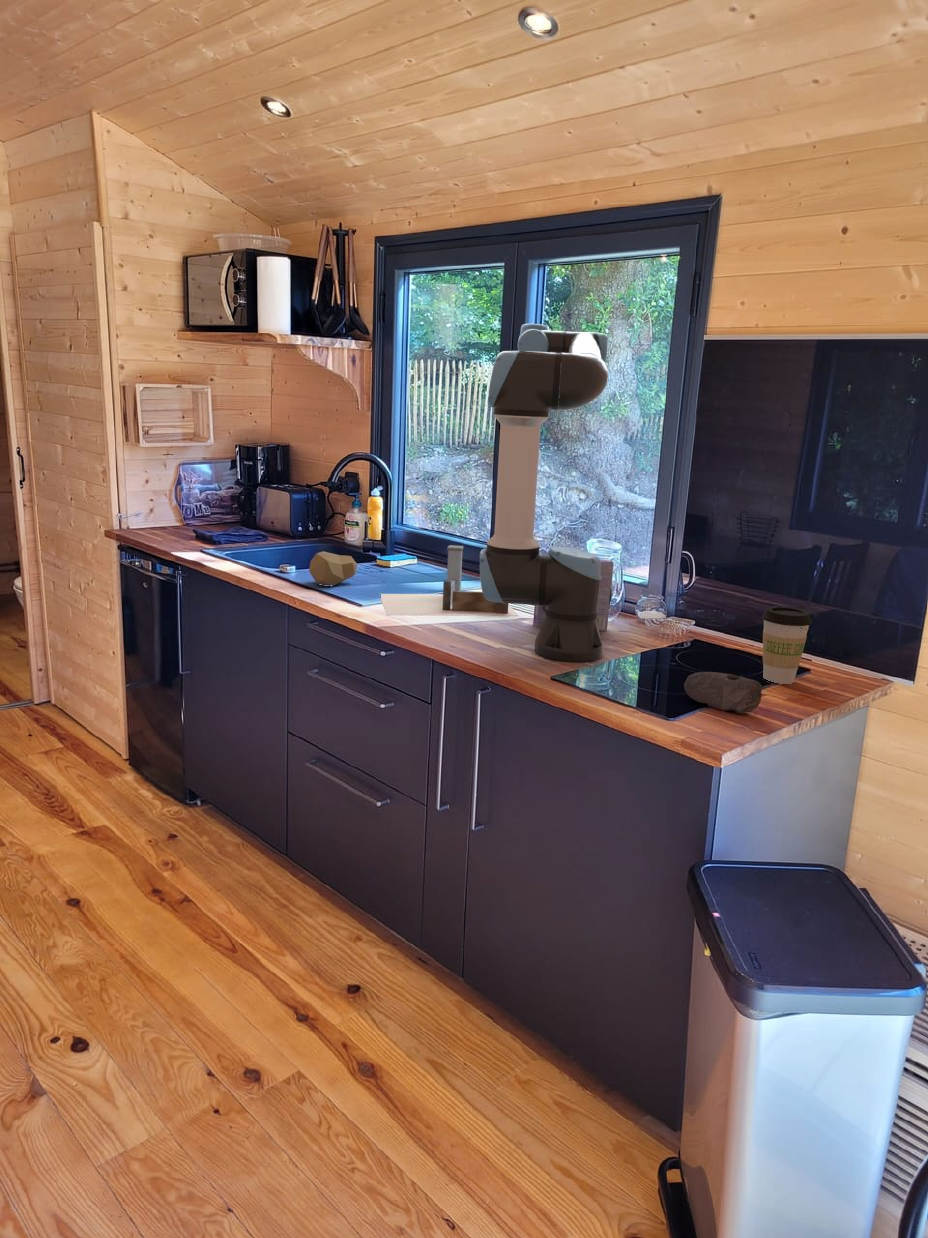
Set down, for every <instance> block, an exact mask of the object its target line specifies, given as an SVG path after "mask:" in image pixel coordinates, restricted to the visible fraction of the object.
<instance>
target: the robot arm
mask: <svg viewBox="0 0 928 1238" xmlns="http://www.w3.org/2000/svg"><path fill="white" fill-rule="evenodd" d="M608 339H609V337H608V335H607V334H606V333H605V332H604V333H603V332H598V331H597V332H595V331H592V332H589V331H566V330H565V331H564V330H563V331H562V330H550V327H549V326H548V325H547V324H541V323H523V324H522V325H521V327H520V333H519V337H518V340H517V350H503V351H501V352H499V353H497V355H496V357H495V359H494V364H493V367H492V370H491V377H490V383H489V386H488V387H489V388H488V396H487V406H488V407H490V408H494V409H493V417H494V418H495V419H496V420H497V421H498V422H499V425H500V427H499V428H500V429H499V442H498V443H499V448H498V460H497V461H498V462H497V463H498V465H497V480H496V481H497V484H496V498H495V500H496V502H495V514H494V515H495V519H494V521H495V522H494V532H493V533H494V534H493V535H492V537H490V538H489V539H488V540H487V542H486V548H483V549H481V550H480V552H479V579H480V585H481V587H480V588H481V592H482V593H483V596H484V598H485V599H486V600H488V601H491V602H499V603H503V604H506V603H508V604H513V605H514V604H515V605H527V606H530V605H531V606H535V605H543V606H545V618H544V620H543V623H542V625H541V628H540V629H539V631H538V632H537V635H536V638H535V642H534V652H535V653H536V654H538V655H539V656H542V657H544V658H548V659H551V660H557V661H562V662H563V661H564V662H578V663H579V662H590V661H591V662H592V661H595V660H598V659H600V658H601V657H603V656H602V655H603V648H604V647H603V641H602V637H601V633H600V632H601V631H599V628H598V624H597V613H598V600H599V586H600V580H601V561H600V560H601V559H600V557H598V556H597V555H595V554H593V553H591V552H588V551H585V550H583V549H577V548H573V547H567V546H551V547H550V548H549V550H548V553H547V552H546V553H545V552H540V547H541V546H540V545H541V544H540V543H539V542H538V541H537V539H535V536H534V529H535V517H536V516H535V515H536V501H537V487H538V485H537V484H538V474H539V473H538V469H539V455H540V441H541V439H540V438H541V427H542V425H543V424H544V423H545V422H546V421H547V420H548V419H549V411H550V410H554V411H555V410H556V411H558V410H559V411H565V410H566V411H567V410H572V409H576V408H580V407H583V406H586V405H587V404H589V403H591V402H592V401H594V400H595V399H597V398H598V397H599V396H600V395H601V394H602V393H603V392H604V390H605V388H606V387H607V382H608V378H609V374H608V367H607V364H606V361H607V357H608V356H607V355H608V346H609V345H608V343H609V340H608ZM541 557H542V558H541ZM538 601H539V602H538Z"/></svg>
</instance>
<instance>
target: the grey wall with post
mask: <svg viewBox="0 0 928 1238" xmlns="http://www.w3.org/2000/svg"><path fill="white" fill-rule="evenodd" d="M463 550H464V545H456V544H455V545H452V544H450V545H448V546H447V549H446V551H447V552H448V553H447V569H446V570H447V573H446V581H451V600H450V605H451V603H452V598H453V591H462V590H461V589H462V570H463V569H462V567H463Z"/></svg>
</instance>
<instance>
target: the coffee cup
mask: <svg viewBox="0 0 928 1238" xmlns="http://www.w3.org/2000/svg"><path fill="white" fill-rule="evenodd" d="M761 618H762V620H763V630H762V663H763V666H762V667H763V671H762V673H763V674H762V675H763V676H762V677H763V678H764V679H766V680H768V681H771V682H774V683H779V684H778V685H782V684H789V685H793V684H794V683H795V679H796V676H797V672H798V668H799V667H800V662H801V659H802V657H803V652H804V649H805V644H806V643H807V637H808V636H807V633H808V631H809V626H810V625H812V623H813V621H812V618H811V616H810V612H809V611H808V610H805V609H801V608H798V607H792V606H777V605H774V606H768V607H767V608H766V609H765V611H764V613H763V614H762V616H761ZM764 679H763V680H764ZM768 681H767V682H768ZM774 683H773V684H774ZM792 683H793V684H792Z"/></svg>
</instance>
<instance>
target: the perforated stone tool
mask: <svg viewBox="0 0 928 1238" xmlns="http://www.w3.org/2000/svg"><path fill="white" fill-rule="evenodd" d="M683 688H684V691H685V693H686V695H687V696H688V697H689V698H691V699H693V700H694V701H695V702H698V703H700V704H706V705H707V706H708V707H710V708H714V709H717V710H720V711H724V712H726V711H734V712H735V713H736V714H740V715H742V714H745V713H751V712H753V711H754V710H756V709H757V708H758V707H759V705H760V703H761V700H762V697H763V695H762V691H763V685H762V684H761V683H760V682H759V681H757V680H755V679H752V678H747V677H744V676H738V675H735V674H731V673H724V672H715V671H714V672H713V671H701V672H700V671H699V672H694V673H692V674H690V675H688V676H687V678H686V680H685V681H684V684H683Z"/></svg>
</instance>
